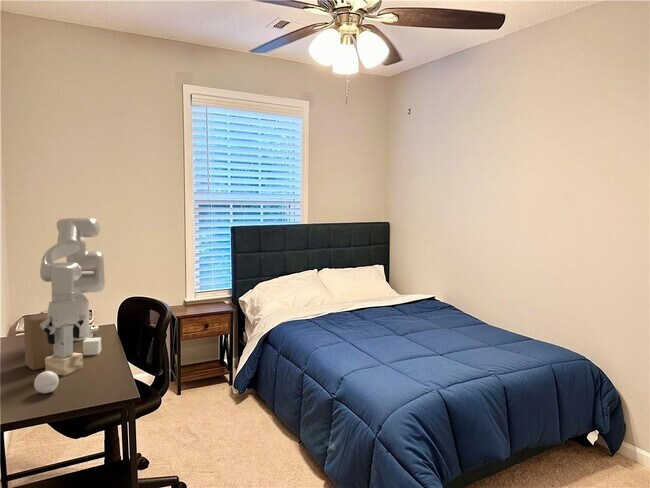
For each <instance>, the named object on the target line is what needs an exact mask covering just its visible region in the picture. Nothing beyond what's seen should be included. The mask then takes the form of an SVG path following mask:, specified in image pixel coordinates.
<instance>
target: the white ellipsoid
mask: <svg viewBox="0 0 650 488" xmlns="http://www.w3.org/2000/svg"><path fill="white" fill-rule="evenodd" d="M65 379H67V377H65V378H64V380H65ZM60 380H63V378H62V379H61V378H60V379H59V375H57V374H56V373H54V372H51V371H42V372H41V373H39V374H37V376H36V378H35V379H34V382H33V386H34V389H35V390H36V391H37V393H40V394H49V393H51V392H52V393H53V391H54V390H56V389H57V387H58V386H59V383H60Z"/></svg>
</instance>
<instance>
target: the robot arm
mask: <svg viewBox="0 0 650 488" xmlns="http://www.w3.org/2000/svg"><path fill="white" fill-rule="evenodd" d="M100 227H101V226H100V223H99V220H98V219H96V218H91V217H90V218H89V217H86V218H85V217H69V218H61V219H59V220H57V222H56V229H57V232H58V233H57V234H58V236H57V241H56V243H55V244H54V245H52V246H51V247H50V248H48V249H47V250H46V251H45V253H44V254H43V255H42V257H41V263H40V268H39V275H40V279H41V280H42V281H44V282H46V283H51V285H50V286H51V301H49V303H48V307H47V313H48V314H47V319H46V320H45V321H44V322H42V323H41V324H40V326H41V328H42V330H43V331H44V332H46V333H47V338H48V343H49V344H52V345H53V344H55V334H53V333H54V331H55V330H56V328H60V327H63V326H67V325H73V342H79V341H84V340H85V339H86V338H94V332H95V331H99V326H90V303H89V300H88V298H87V297H86V295H84V294H87V293H89V294H91V293H100V292H103V290H104V289H105V283H106V281H105V279H106V277H105V260H104V256H103V253H102V252H101V251H95V250H94V251H93V250H90V251H88V250H87V242H86V239H85V238H97V237H98V235H99V234H100V230H101V229H100ZM62 258H65V259H66V262H55V261H57V260H60V259H62ZM46 325H47V326H49V328H47V327H46Z"/></svg>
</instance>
